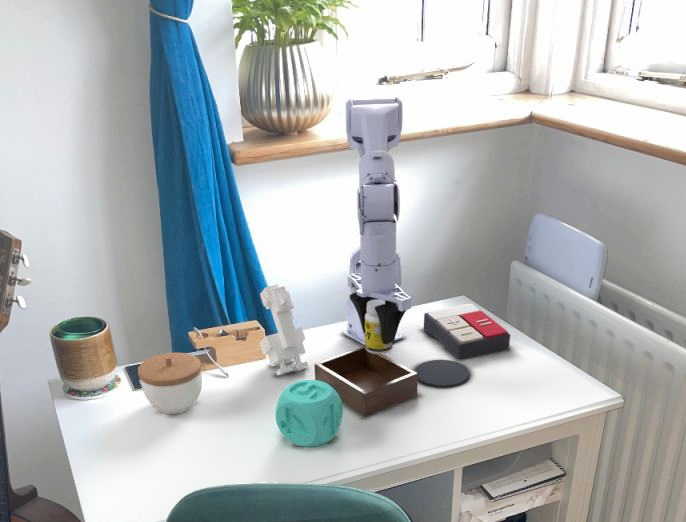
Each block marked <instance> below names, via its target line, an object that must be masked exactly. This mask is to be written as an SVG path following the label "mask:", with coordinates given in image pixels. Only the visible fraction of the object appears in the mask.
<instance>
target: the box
mask: <svg viewBox="0 0 686 522" xmlns="http://www.w3.org/2000/svg"><path fill="white" fill-rule="evenodd" d="M314 380H318V381H322V382H325V383H327V384H329V385H330V386H331V387H332V388H333V389H334V390H335V391H336V392H337V393H338V395H339V397H340V399H341V401H342V404H343V405H345V406H347V407H348V408H349V409H352V410H353V411H355V412H356V413H358V414H359V415H361V416H362V417H364V418H366V417H368V416H371V415H373V414H375V413H378V412H381V411H383V410H385V409H388V408H391V407H393V406H395V405H398V404H401V403H403V402H405V401H408V400H410V399H413V398H416V397H417V396H418V384H419V383H418V382H419V381H418V373H416V372H414V370H413V369H411V368H409V367H407V366H405V365H403V364H402V363H399V362H398V361H395V360H394V359H392V358H390V357H389V356H387V355H385V354H372V353H370V352H368V351H367V350H366V348H365V345H363V346H360V347H356V348H354V349H352V350H349V351H346V352H342V353H341V354H337V355H334V356H332V357H329V358H325V359H323V360H320V361H318V362H315V363H314Z"/></svg>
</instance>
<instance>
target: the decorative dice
mask: <svg viewBox="0 0 686 522" xmlns="http://www.w3.org/2000/svg"><path fill="white" fill-rule="evenodd" d="M343 413H344V404H343V403H342V401H341V399H340V397H339V395H338V393H337V392H336V391H335V390H334V389H333V388H332V387H331V386H330V385H329V384H327V383H325V382H322V381H318V380H315V379H304V380H303V379H302V380H299V381H295V382H293V383H290V384H289V385H288V386H286V387H285V388H284V389H283V390H282V392H281V394H280V396H279V398H278V400H277V403H276V407H275V421H276V422H275V423H276V425H277V428H278V430H279V431H280V433H281V434H282V435H283V436H284V438H285V439H286V440H287V441H288V442H291V443H292V444H294V445H297V446H299V447H304V448H305V447H306V448H310V447H311V448H312V447H320V446H322V445H325V444H327V443H328V442H330V441H332V439H333V438H334V437H335V436H336V434H337V433H338V431H339V429H340V427H341V423H342V419H343V415H344V414H343Z"/></svg>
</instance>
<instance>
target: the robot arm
mask: <svg viewBox="0 0 686 522" xmlns="http://www.w3.org/2000/svg"><path fill="white" fill-rule="evenodd" d="M345 131H346V135H347V136H346V137H347V141H346V142H347V143H348V148H349V149H351V150H354V151H357V152H358V154H359V157H360V160H359V162H358V183H359V184H358V185H359V187H358V188H357V190H356V191H357V192H356V197H357V198H356V208H357V209H356V210H357V213H356V214H357V221H358V226H359V228H358V229H359V235H360V238H359V239H360V240H359V241H360V242H359V243H360V245H359V247H357V248H356V249H355V250H353V252H351V255H350V256H349V275H347V287H349V293H350V294H349V296H348V298H347V301H346V325H347V327H346V328H347V329H346V330H345V331H343V334H344V335H345V336H347V337H349V338H351V339H353V340H354V341H357V342H358V343H360V344H362V345H363V346H365V315H366V313H367V310H366V309H367V302H368V301H370V300H374V299H382V300H384V301H385V304H382V305H379V306H376V307H375V310H376V312H377V315H378V318H379V321H380V326H381V338H382V342H383V344H388V343H391V342H392V343H393V342H395V341H398V340H401V339H403V338H404V336H403V334H401V333H399V332H398V329H399V326H400V324H401V321H402V319H403V317H404V315H405V313H406V312H407V311H408V310H410V309H412V296H409V295H408V294H407V293H405V292H404V290H403V289H402V264H401V255H400V253H399V252H398V250H397V222H399V218H400V211H401V210H400V209H401V202H400V201H401V198H400V188H399V184H398V180H397V179H396V175H395V174H396V172H395V170H396V169H395V161H394V158H393V156H392V155H391V154H390V153H389V151H391V150H392V149H394V148H397V147H398V146H399V142H400V141H401V135H402V132H403V99H402V98H401V97H400V95H395V96H378V97H377V96H376V97H355V98H352V97H347V100H345ZM395 217H396V219H395Z"/></svg>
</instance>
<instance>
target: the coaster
mask: <svg viewBox="0 0 686 522" xmlns="http://www.w3.org/2000/svg"><path fill="white" fill-rule="evenodd" d="M413 371H414V372H416V373H418V382H420V383H421V384H424V385H426V386H430V387H435V388H450V387H455V386H459V385H462V384H464V383H465V382H466V381H468V379H469V378H470V375H471V374H470V369H469V368H468V367H467V366H466V365H464V364H463V363H461V362H458V361H454V360H448V359H433V360H427V361H425V362H421V363H420V364H418V365H417V366H416V367H415V369H414V370H413Z"/></svg>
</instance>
